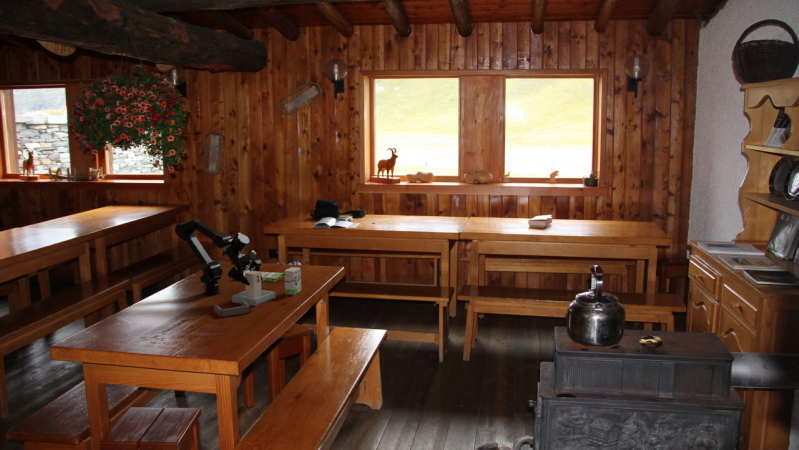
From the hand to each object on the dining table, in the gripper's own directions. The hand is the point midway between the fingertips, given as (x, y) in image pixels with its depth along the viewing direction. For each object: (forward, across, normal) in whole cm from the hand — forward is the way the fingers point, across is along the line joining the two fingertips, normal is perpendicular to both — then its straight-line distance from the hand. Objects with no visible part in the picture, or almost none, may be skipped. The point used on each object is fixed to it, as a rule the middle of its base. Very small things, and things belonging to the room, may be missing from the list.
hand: (255, 282), depth 307 cm
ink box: (+11, +19, +1) cm, 22 cm away
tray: (+5, 0, +7) cm, 9 cm away
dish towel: (-12, +35, +25) cm, 45 cm away
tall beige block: (+4, 0, +6) cm, 8 cm away
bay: (+7, -18, +5) cm, 20 cm away
